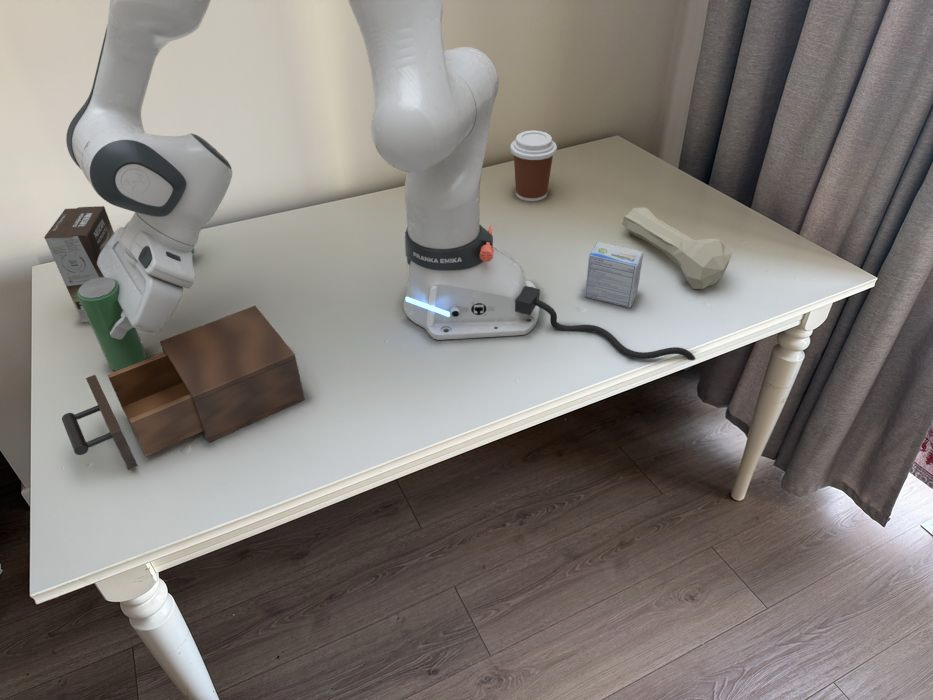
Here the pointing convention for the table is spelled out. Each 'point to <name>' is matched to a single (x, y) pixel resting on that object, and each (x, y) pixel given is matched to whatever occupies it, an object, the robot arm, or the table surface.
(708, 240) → the faceted club
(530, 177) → the coffee cup
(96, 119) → the robot arm
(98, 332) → the green can
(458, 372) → the table surface
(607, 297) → the medicine box
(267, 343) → the cabinet
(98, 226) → the coffee box
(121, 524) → the table surface
